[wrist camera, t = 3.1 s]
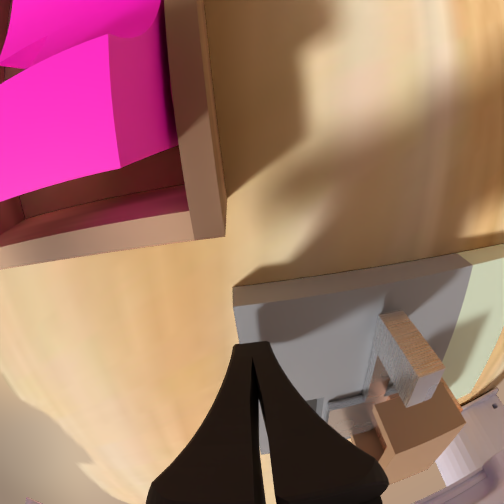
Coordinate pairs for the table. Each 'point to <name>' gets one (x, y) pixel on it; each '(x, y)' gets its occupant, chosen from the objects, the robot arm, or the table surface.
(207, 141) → the wooden caddy
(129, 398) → the table surface
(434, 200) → the table surface
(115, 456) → the table surface
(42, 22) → the toy block
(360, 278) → the track
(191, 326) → the table surface
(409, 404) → the sled
